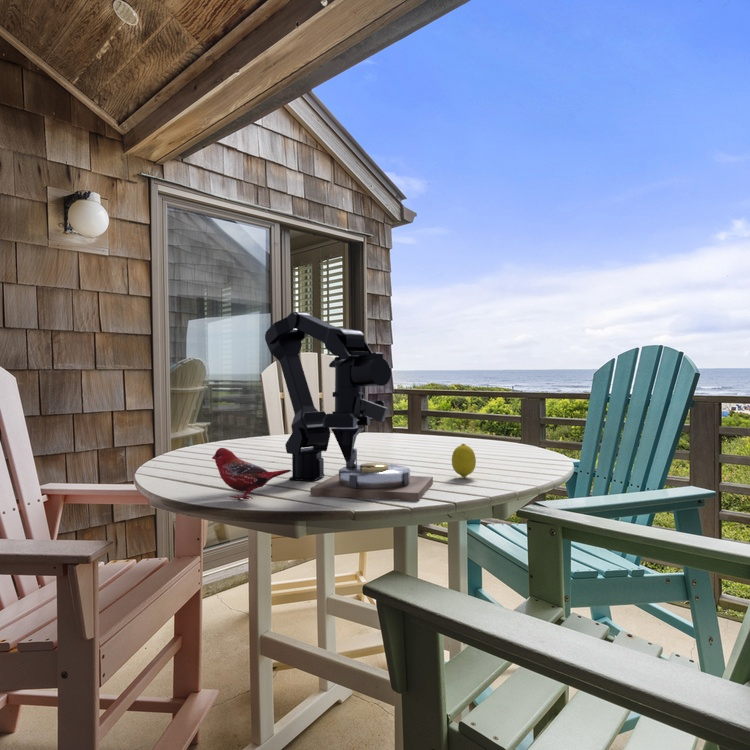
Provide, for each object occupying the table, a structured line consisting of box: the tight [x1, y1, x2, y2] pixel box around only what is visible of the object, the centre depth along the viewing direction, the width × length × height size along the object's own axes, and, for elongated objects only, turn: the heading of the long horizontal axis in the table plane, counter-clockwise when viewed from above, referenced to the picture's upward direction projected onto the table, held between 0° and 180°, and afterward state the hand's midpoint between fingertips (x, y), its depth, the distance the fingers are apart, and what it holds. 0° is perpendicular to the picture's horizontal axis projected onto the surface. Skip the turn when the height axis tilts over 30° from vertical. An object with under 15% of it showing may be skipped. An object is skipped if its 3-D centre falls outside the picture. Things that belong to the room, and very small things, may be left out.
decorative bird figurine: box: [211, 447, 292, 500], centre depth 99 cm, size 3×18×10 cm, turn 72°
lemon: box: [451, 443, 477, 479], centre depth 119 cm, size 6×6×8 cm
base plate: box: [309, 473, 434, 502], centre depth 107 cm, size 22×17×2 cm
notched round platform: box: [338, 447, 411, 489], centre depth 107 cm, size 16×16×6 cm
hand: (347, 460), depth 108 cm, fingers closed
